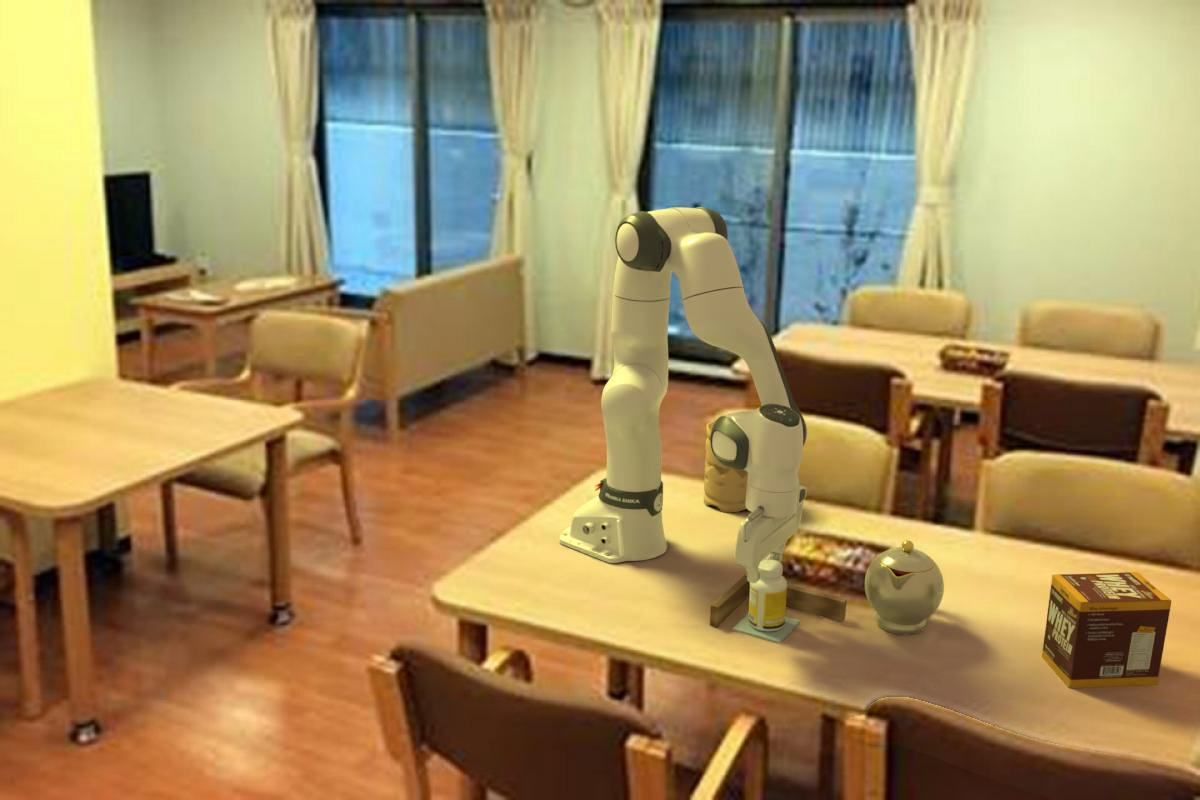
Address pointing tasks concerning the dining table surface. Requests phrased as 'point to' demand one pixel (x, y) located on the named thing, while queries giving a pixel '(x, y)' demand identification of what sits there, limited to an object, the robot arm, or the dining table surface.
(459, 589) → the dining table surface
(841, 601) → the wooden l-shaped wall
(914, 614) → the teapot
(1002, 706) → the dining table surface
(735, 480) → the container
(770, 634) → the pad
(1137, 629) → the supplement box
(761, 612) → the pill bottle
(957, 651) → the dining table surface
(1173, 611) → the dining table surface
